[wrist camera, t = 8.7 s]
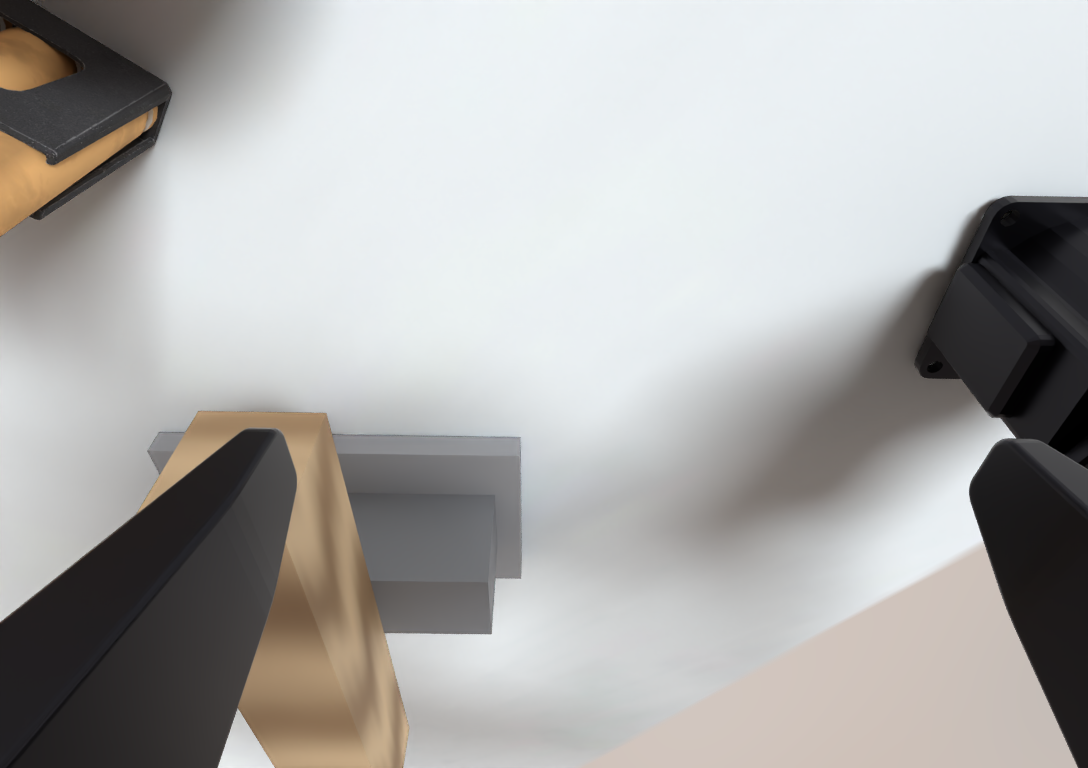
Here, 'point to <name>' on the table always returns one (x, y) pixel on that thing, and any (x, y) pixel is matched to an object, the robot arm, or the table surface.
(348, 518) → the beam
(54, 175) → the ammunition clip
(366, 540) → the grey stepped block
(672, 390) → the table surface
